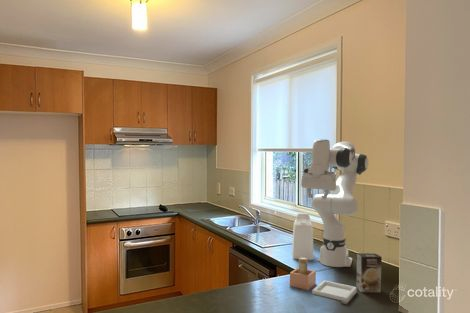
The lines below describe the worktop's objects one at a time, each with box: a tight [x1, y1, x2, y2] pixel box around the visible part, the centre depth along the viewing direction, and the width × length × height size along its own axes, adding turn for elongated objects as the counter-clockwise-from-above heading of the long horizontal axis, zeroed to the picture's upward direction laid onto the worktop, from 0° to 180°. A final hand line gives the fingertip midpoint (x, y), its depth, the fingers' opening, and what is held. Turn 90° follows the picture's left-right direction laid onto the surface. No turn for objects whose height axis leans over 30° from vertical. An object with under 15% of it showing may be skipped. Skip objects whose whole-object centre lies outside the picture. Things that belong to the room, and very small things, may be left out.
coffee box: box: [355, 252, 383, 293], centre depth 166 cm, size 9×6×16 cm
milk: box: [291, 212, 315, 261], centre depth 218 cm, size 12×12×26 cm
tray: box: [311, 279, 358, 305], centre depth 160 cm, size 15×15×2 cm
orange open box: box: [289, 267, 317, 291], centre depth 168 cm, size 9×9×7 cm
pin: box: [298, 258, 309, 275], centre depth 168 cm, size 4×4×12 cm
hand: (317, 198), depth 182 cm, fingers open, 8 cm apart
